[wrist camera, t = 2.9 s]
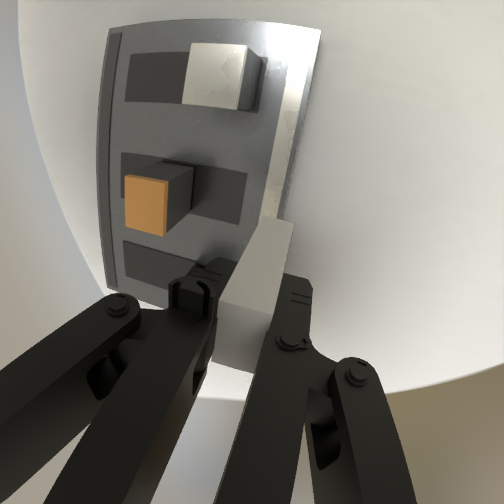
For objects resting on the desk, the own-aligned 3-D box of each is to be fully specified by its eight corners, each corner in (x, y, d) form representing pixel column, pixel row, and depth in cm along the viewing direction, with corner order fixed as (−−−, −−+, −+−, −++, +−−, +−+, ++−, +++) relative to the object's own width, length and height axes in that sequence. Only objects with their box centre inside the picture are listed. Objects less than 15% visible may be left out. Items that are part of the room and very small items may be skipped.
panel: (125, 32, 15) (69, 21, 9) (320, 38, 13) (321, 6, 8) (118, 276, 26) (82, 313, 20) (257, 320, 24) (240, 373, 19)
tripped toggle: (158, 161, 17) (124, 176, 14) (194, 167, 16) (164, 183, 13) (156, 204, 18) (125, 226, 15) (189, 212, 18) (162, 236, 15)
